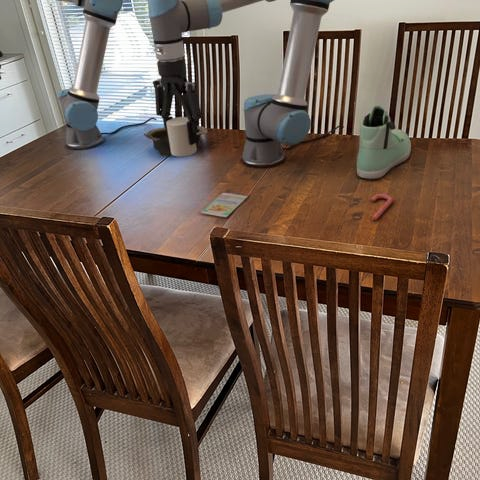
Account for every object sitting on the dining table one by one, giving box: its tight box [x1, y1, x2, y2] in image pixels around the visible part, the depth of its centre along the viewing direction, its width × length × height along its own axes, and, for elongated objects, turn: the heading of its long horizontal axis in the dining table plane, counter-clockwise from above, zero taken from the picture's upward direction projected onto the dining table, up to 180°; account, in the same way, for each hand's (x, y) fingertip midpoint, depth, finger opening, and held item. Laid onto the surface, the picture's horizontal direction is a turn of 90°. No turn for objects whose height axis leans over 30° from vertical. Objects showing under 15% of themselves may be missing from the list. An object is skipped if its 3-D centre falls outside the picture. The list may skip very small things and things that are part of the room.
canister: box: [166, 116, 198, 157], centre depth 138 cm, size 8×8×9 cm
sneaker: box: [356, 105, 412, 180], centre depth 161 cm, size 14×35×20 cm, turn 152°
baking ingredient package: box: [199, 191, 249, 218], centre depth 146 cm, size 9×1×15 cm
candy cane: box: [371, 193, 394, 221], centre depth 137 cm, size 6×15×2 cm, turn 145°
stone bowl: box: [143, 125, 208, 157], centre depth 189 cm, size 25×25×9 cm
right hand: (182, 141), depth 139 cm, fingers closed on canister, 7 cm apart
